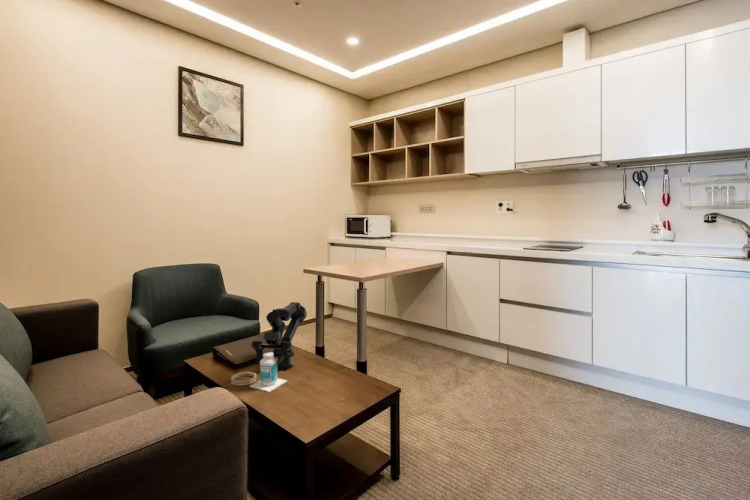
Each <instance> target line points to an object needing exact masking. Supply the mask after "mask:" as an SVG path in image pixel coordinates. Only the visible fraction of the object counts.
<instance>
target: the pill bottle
mask: <svg viewBox="0 0 750 500" xmlns="http://www.w3.org/2000/svg"><path fill="white" fill-rule="evenodd" d="M277 360H278V358H277V357H276V356H275V355H274V351H273V352H272V351H268V352H263V354H262V358H261V359H260V362H259V374H260V375H259V377H260V378H259V379H260V380H259V381H260V382H261V384H262V385H264V386H271V385H274V384H276V383H277V378H278V369H277Z"/></svg>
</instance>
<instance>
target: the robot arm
mask: <svg viewBox="0 0 750 500" xmlns="http://www.w3.org/2000/svg"><path fill="white" fill-rule="evenodd" d="M307 314H308V312H307V310H306V308H305V307H304V306H303V305H301V303H300V302H299V301H298V302H297V301H296V302H295V301H294V302H293V301H292V302H289V304H288V305H286V306H285V307H282V308H276V309H272V311H270V312H269V313H267V315H266V317H265V318H266V321H267V323H268V324H269V326H270V327H271V330H270V331H269V332H263V333H264V334H263V337H262V338H263V341H265V343H263V341H262V340H257V339H256V340H253V341H251V344H250V346H251V348H252V349H253V350H254V351H255V352H256V353H255V354H256V355H255V356H256V364H257V365H260V361H261V359H262V358H263V354H264V352H263V351H264V349H273V353H274V357H277V370H283V371H287V370H290V369H291V368H293V367H294V364H292V357H294V356H295V348H294V346H293V343H292V340H293V338H294V336H295V335H296V332H297V330H298V327H299V326H300V324H301V323H303V322H304V321H305V319H306V318H307V317H308V315H307ZM285 322H289V323H288V325H287V327H286V323H285Z"/></svg>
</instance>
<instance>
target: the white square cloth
mask: <svg viewBox="0 0 750 500" xmlns="http://www.w3.org/2000/svg"><path fill="white" fill-rule="evenodd" d="M287 382H288V380H286V379H283V378H279V377H277V383H276V384H274V385H271V386H264V385H262V384H261V382H260V380H258V381H255V382H253V383H251V384H250V385H249V387H250V388H253V389H255V390H260V391H263V392H267V393H270V392H272V391H273V390H275V389H277V388H279V387H281V386H282V385H284V384H285V383H287Z"/></svg>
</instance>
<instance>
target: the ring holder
mask: <svg viewBox="0 0 750 500" xmlns="http://www.w3.org/2000/svg"><path fill="white" fill-rule="evenodd" d="M246 376H249V377H251V378H250V379H248V380H236V379H237V378H239V377H246ZM257 378H258V377H257V373H256V372H252V371H243V372H241V371H240V372H238V373H235V374H233V375H231V377H230V384H231V385H234V386H239V387H240V386H246V385H252V384H254V383H256V382H257Z"/></svg>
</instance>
